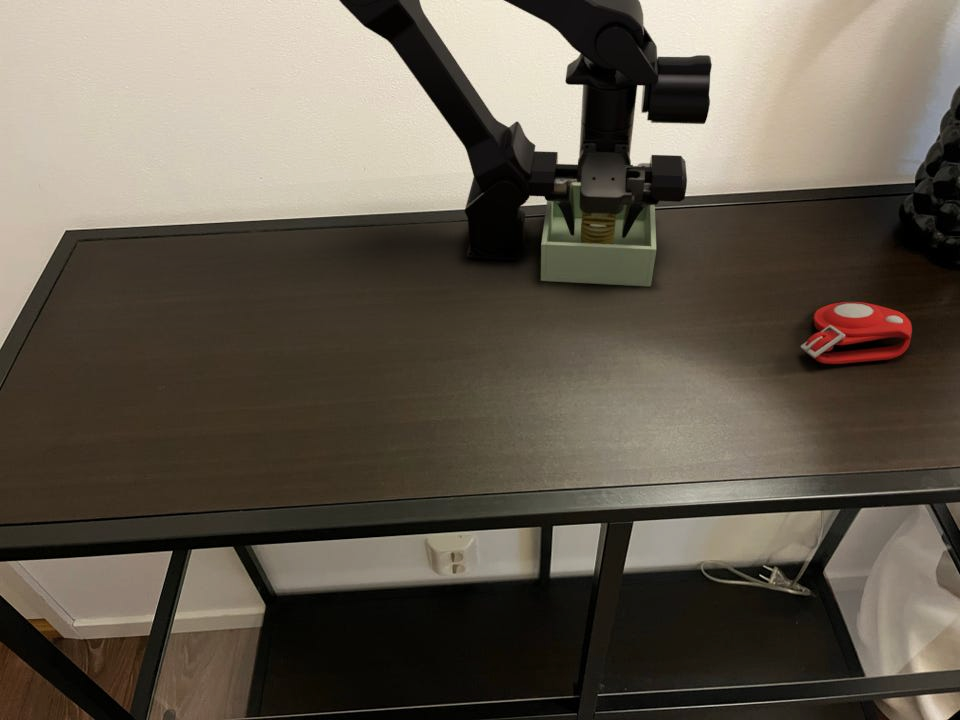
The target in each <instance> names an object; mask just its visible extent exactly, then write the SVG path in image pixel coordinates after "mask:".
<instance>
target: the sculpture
mask: <svg viewBox="0 0 960 720" xmlns="http://www.w3.org/2000/svg"><path fill="white" fill-rule="evenodd" d="M592 214H605V215H607V216H604V217H603V216H592V215H591V214H588V213H584V212H582V222H581V241H582V243H591V244H612V242H613V239H614V232H615V221H616V220H615V219H616V214H615V215H612V214H609V213H592ZM591 224H595V225H597V224H598V225H606V227H597V226H591ZM588 229H590V230H588ZM592 230H598V231H604V232H598V231H592ZM605 230H607V231H605ZM594 235H595V236H594Z"/></svg>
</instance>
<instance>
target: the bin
mask: <svg viewBox="0 0 960 720" xmlns="http://www.w3.org/2000/svg"><path fill="white" fill-rule="evenodd" d="M580 186H581V183H573V196H574V210H575V230H574V236H572V235H571V234H570V232H569V229H568V226H567V224H566V221H565V218H564V216H563V213H562V211H561V209H560V208H559V206H558V204H557V203H555V202H553V201H547V200H546V205H545V213H544V221H543V229H542V234H541V235H542V236H541V244H540V282H557V283H572V284H573V283H574V284H575V283H576V284H592V285H593V284H595V285H596V284H597V285H610V286H611V285H612V286H613V285H614V286H632V287H633V286H634V287H649V288H650V287H651V286H652V282H653V274H654V268H655V263H656V261H655V260H656V256H657V255H656V254H657V232H656V231H657V230H656V205H649V206H647V207H645V208H644V209H643V210H642V211H641V212H640V214H639V215H638V217H637V218H636V220H635V222H634V223H633V225H632V227H631V229H630V230H629V232H628V234H627V236H626V237H625V238H622V228H623V220H624V215H625V211H626V206H627V205H624V206H623V210H622V212H621V213H619V214H616V219H615V220H616V221H615V232H614V239H613V242H612V244H591V243H582V241H581V222H582V211H581V209H580V206H579V205H580ZM591 215H592V216H603V217H604V216H607V215H605V214H591ZM591 226H597V227H606V225H598V224H597V225H595V224H591ZM588 230H590V229H588ZM592 231H598V230H592ZM605 231H607V230H605ZM598 232H604V231H598ZM594 236H595V235H594Z"/></svg>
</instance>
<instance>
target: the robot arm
mask: <svg viewBox="0 0 960 720" xmlns="http://www.w3.org/2000/svg"><path fill="white" fill-rule="evenodd" d="M338 1H339V3H341V4H342V5H343V7H344V8H345V9H346V10H347V11H348V12H349V13H350V14H352V16H353V17H354V18H355V19H356V20H357V21H358V22H359V23H360V24H361V25H362V26H363V27H364V28H366V29H368V30H369V31H371V32H373V33H374V34H376V35H378V36H379V37H381V38H383V39H384V40H386V41H387V42H388V43H389V44H390V45H391V46H392V48H393V49H394V51H395V52H396V53H397V55H398V56H399V58H400V59H401V60H402V61H403V63H404V64H405V66H406V67H407V69H408V70H409V72H410V73H411V74H412V75H413V77H414V79H415V80H416V81H417V82H418V84H419V85H420V87H421V89H422V90H423V91H424V92H425V94H426V95H427V96H428V98H429V99H430V101H431V102H432V104H433V105H434V107H436V109H437V110H438V112H439V113H440V114H441V116H442V118H443V119H444V120H445V122H446V123H447V124H448V126H449V127H450V128H451V130H452V131H453V133H454V134H455V135H456V137H457V138H458V140H459V141H460V143H462V145H463V147H464V149H465V151H466V154H467V158H468V161H469V164H470V165H469V166H470V168H471V172H472V175H473V177H472V182H471V185H470V189H469V191H468V192H469V193H468V196H467V200H466V204H465V207H464V213H465V216H466V217H467V226H468V229H467V230H468V241H469V244H468V250H467V253H466V254H467V259H468V260H481V261H482V260H483V261H504V262H517V261H518V260H519V257H520V251H521V250H522V249H523V248H524V246H525V240H526V211H525V210H524V209H521V207H522V206H523V205H524V204H526V203H527V201H528V200H529V199H530V197H543V198H544V199H545V201H546V202H547V201H553V202H555V203H557V204H558V206H559V208H560V209H561V211H562V213H563V216H564V218H565V221H566V224H567V226H568V229H569V232H570V234H571V235H572V236H574V230H575V210H574V196H573V183H581V186H580V205H579V206H580V209H581V211H582V212H584V213H588V214H592V213H609V214H612V215H615V214H619V213H621V212H622V210H623V206H624V205H627V206H626V211H625V215H624V220H623V228H622V238H625V237H626V236H627V234H628V232H629V230H630V229H631V227H632V225H633V223H634V222H635V220H636V218H637V217H638V215H639V214H640V212H641V211H642V210H643V209H644V208H645V207H647V206H649V205H655V206H657V205H658V204H659V202H677V203H680V202H682V201H684V200H685V198H686V192H687V184H688V175H687V164H686V163H687V162H686V160H685V159H684V158H683V155H673V154H671V155H668V154H667V155H666V154H651V156H650V158H649V162H648V163H646V162H642V163H638V164H637V165H633V164H632V160H631V149H632V138H633V130H634V122H635V112H636V103H637V95H638V86H642V92H641V104H640V105H641V106H640V107H641V108H640V110H641V112H640V113H642V114H647V115H646V116H647V118H646V121H650V123H651V124H684V125H685V124H688V125H689V124H690V125H705V124H706V122H707V120H708V117H709V111H710V106H711V98H710V90H711V89H710V88H711V72H712V67H713V65H712V59H711V55H707V54H700V55H693V56H658V46H657V44H656V42H655V41H654V40H653V38H652V36H651V35H650V33H649V32H648V30H647V29H646V27H645V26H644V12H643V8H642V7H643V6H642V4H641V2H640V0H503V2H506V3H508V4H510V5H512V6H514V7H516V8H517V9H519V10H521V11H523V12H525V13H527V14H530V15H531V16H533V17H535V18H537V19H539V20H541V21H543V22H545V23H547V24H548V25H550V26H551V27H552V28H554V29H555V30H556V31H557V32H558V33H559V34H560V35H561V36H562V37H563V38H564V39H565V41H566V42H567V43H568V44H569V45H570V46H571V47H572V48H573V49H575V51H577V52H578V53H579V55H578V57H577V58H576V59H574V60H573V61H572V62H570V63H568V65H567V67H566V74H565V80H564V81H565V83H566V84H567V85H569V86H573V85H574V86H582V94H581V95H582V97H581V114H580V115H581V117H580V132H579V133H580V134H579V150H578V151H579V153H578V155H579V157H578V159H577V164H573V163H572V164H569V163H559V162H558V160H559V152H558V151H542V150H541V151H535V150H536V144H535V143H533V142H532V141H531V140H530V139H529V138H528V137H527V136H526V134H525V132H524V129H523V127H522V125H521V123H520V122H519V121H515V122H514V123H512V124H511V125H510V126H507V125H505V124H504V123H502V122H500V121H498V120H497V119H496V118H495V116H494V115H493V114H492V112H491V111H490V109H489V108H488V106H487V105H486V103H485V102H484V100H483V99H482V97H481V96H480V95H479V92H478V91H477V90H476V88H475V87H474V85H473V84H472V83H471V81H470V79H469V78H468V77H467V75H466V73H465V72H464V71H463V68H462V67H461V66H460V65H459V63H458V62H457V60H456V58H455V57H454V56H453V54H452V52H451V51H450V50H449V48H448V46H447V45H446V44H445V42H444V40H443V39H442V38H441V36H440V35H439V33H438V32H437V30H436V28H435V27H434V26H433V24H432V23H431V22H430V20H429V18H428V17H427V16H426V14H425V12H424V10H423V8H422V4H421V0H338Z"/></svg>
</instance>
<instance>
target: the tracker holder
mask: <svg viewBox="0 0 960 720" xmlns="http://www.w3.org/2000/svg"><path fill="white" fill-rule="evenodd" d="M813 325H814V326H815V328H816V330H818V332H816V333H814V334H812V335H811V336H810V337H809V338H807V341H805V342H804V343H802V344H801V345H800V348H801V350H803V351H804V352H805V353H807V355H809V356H810V357H811V358H812V359H814V360H815V361H817V362H818V363H820V364H826V365H841V364H842V365H843V364H854V363H864V362H867V363H868V362H876V361H888V360H892V359H895V358H898V357H900V356H902V355H903V354H904V353H906V351H907V350H908V348H909V346H910V344H911V340H912V333H913V326H912V322H911V320H910V319H909V318H908V316H907V315H905V314H904V313H902V312H900V311H898V310H895V309H891V308H888V307H884V306H881V305H878V304H872V303H868V302H861V301H843V302H835V303H831V304H827V305H824V306H822V307H820V308H819V309H817V310H816V311H815V313H814V315H813ZM887 338H902V340H900V342H898V343H897V344H894V345H890V346H882V347H872V348H862V349H855V350H845V351H833V349H834V345H835V346H847V345H854V344H860V343H865V342H870V341H876V340H882V339H887ZM830 351H833V352H830Z"/></svg>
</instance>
